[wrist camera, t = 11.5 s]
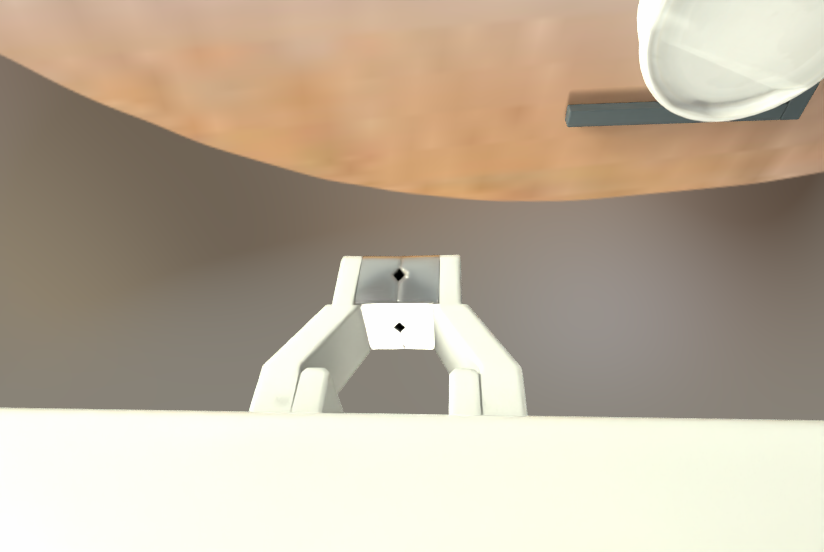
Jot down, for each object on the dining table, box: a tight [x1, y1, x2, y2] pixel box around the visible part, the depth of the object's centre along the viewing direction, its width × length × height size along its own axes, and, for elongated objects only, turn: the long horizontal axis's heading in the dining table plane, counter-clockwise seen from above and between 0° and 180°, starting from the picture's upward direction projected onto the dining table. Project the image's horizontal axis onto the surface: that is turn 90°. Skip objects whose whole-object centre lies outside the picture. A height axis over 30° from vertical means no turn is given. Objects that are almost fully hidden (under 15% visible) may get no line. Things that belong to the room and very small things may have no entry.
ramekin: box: [637, 0, 824, 122], centre depth 26 cm, size 11×11×5 cm
